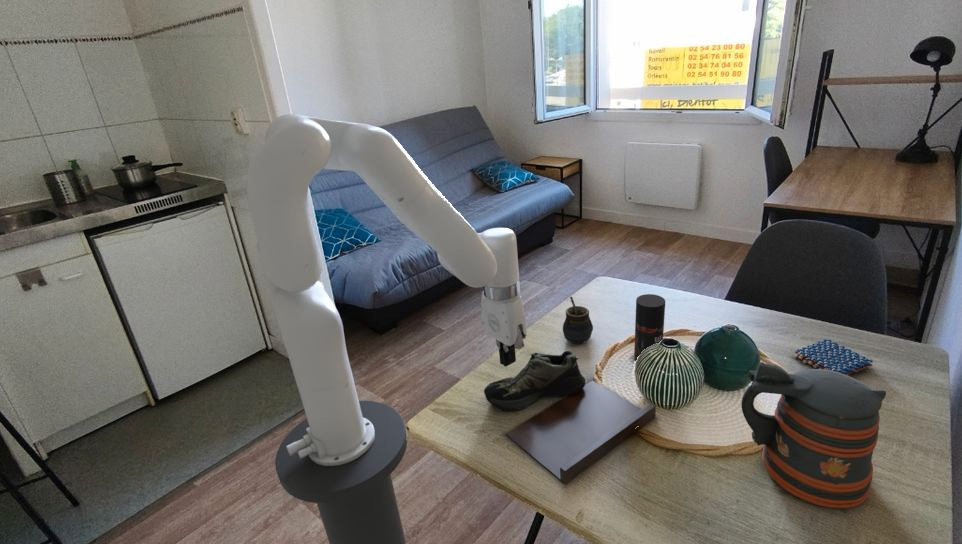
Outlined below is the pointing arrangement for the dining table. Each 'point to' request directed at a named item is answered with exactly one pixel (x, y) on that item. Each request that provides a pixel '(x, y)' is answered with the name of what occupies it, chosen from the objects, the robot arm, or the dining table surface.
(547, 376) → the hiking shoe
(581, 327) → the mate gourd
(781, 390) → the beer stein
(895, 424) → the dining table surface
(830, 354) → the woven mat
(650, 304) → the deodorant
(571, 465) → the shoe shelf
